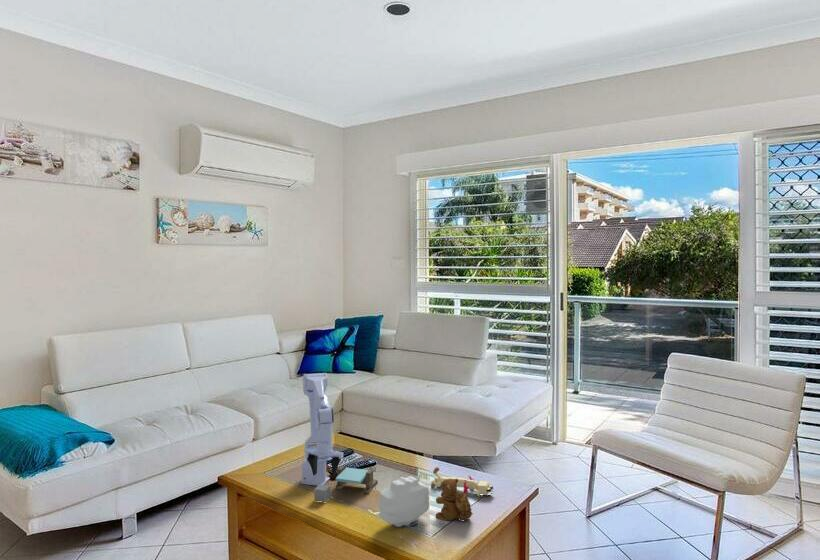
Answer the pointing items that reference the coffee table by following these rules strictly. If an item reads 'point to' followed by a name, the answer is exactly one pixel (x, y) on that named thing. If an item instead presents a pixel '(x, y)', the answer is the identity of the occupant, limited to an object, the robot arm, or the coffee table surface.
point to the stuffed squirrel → (453, 502)
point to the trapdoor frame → (369, 480)
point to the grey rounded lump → (404, 501)
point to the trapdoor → (352, 476)
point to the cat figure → (464, 483)
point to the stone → (322, 493)
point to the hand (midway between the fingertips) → (324, 475)
